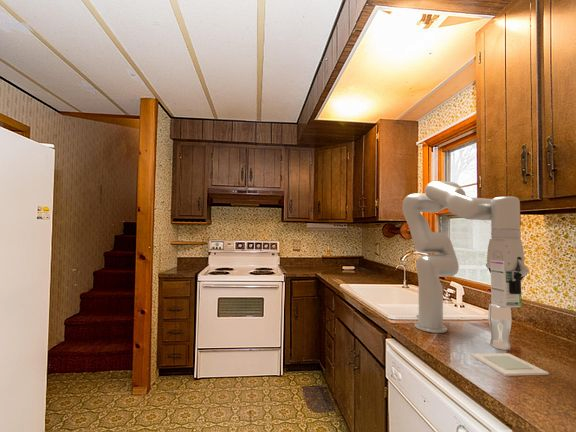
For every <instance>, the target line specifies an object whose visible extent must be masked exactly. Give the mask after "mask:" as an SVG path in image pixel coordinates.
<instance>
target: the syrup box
mask: <svg viewBox="0 0 576 432" xmlns="http://www.w3.org/2000/svg"><path fill="white" fill-rule="evenodd" d="M490 264H491V273H490V291H491V292H490V293H491V295H490V296H491V298H490V299H491V302H490V303H492V304H495V305H498V306H501V307H505V308H507V307H511V308H523V304H522V303H523V301H522V281H520V294H510V293H509V281H512V280H511V278H510V275H509V271H505V270H504V261H497V260H496V261H495V260H490ZM515 270H516V269H515ZM514 275H516V273H514Z"/></svg>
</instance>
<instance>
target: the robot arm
mask: <svg viewBox="0 0 576 432" xmlns="http://www.w3.org/2000/svg"><path fill="white" fill-rule="evenodd" d="M401 208H402V214H403V218H404V219H405V221H406V223H407V225H408V227H409V232H410V235H411V239H412V242H413V246H414V249H415V250H416V251H417V252H418V253H421V254H423V255H421V256H419V257H418V258H417V259H416V262H415V269H416V272H417V273H416V274H417V280H418V313H417V315H416V316H415V317H416V318H417V321H415V323H414V327H415V328H416V329H417V330H420V331H422V332H423V331H424V332H427V333H432V334H443V333H446V332H447V331H448V328H447V326H445V325H444V289H443V284H442V283H441V281H440V279H439V278H440V277H444V278H445V277H447V278H449V277H453V276H456V275H457V274H458V272H459V267H460V266H459V261H458V258H457V256H456V252H455V250H454V245H453V244H452V240H451V239H450V237H449V236H448V235H447V234H445V233H444V232H440V231H438V232H437V231H436V232H435V231H432V230H431V226H430V225H429V222H428V220H427V218H426V217H425V216H424V215H423V214H422V213H439V212H442V211H443V210H445V209H447V210H448V212H450V213H451V214H453V215H455V216H457V217H460V218H463V219H467V220H473V221H474V220H475V221H476V220H477V221H478V220H479V221H490V222H491V225H490V227H491V228H490V229H491V230H490V231H491V232H490V235H491V236H490V237H491V238H490V239H489V241H488V246H487V252H486V253H487V255H486V258H487V259H486V264H485V266H486V268H487V270H488V271H489V273H490V274H491V264H490V260H495V261H496V260H497V261H504V270H505V271H509V275H510V278H511V280H512V281H509V293H510V294H520V281H521V282H522V281H523V279H524V278H525V276H526V275H528V273H529V272H530V269H529V268H528V267H527V266H526V264H525V253H524V251H525V250H524V247H523V241H522V239H521V202H520V199H519V197H516V196H497V197H493V198H484V197H469V196H467V195H466V192H465V190H464V189H463V188H462V187H461V186H460V185H459V184H458V183H456V182H453V181H443V180H442V181H439V180H436V181H435V180H434V181H431V182H429V183H428V184H427V185H426V186H425V188H424V193H411V194H408V195H406V196H405V198H404V199H403V201H402V207H401ZM515 269H516V270H515ZM514 273H516V275H514Z"/></svg>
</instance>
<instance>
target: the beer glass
mask: <svg viewBox="0 0 576 432" xmlns="http://www.w3.org/2000/svg"><path fill="white" fill-rule="evenodd" d="M511 308H512V307H507V308H505V307H501V306H498V305H495V304H492V302H490V303H488V312H487V313H488V315H487V316H488V317H487V318H488V324H489V329H490V336H491V337H490V343H489V346H491V347H492V348H494V349H496V350H497V349H498V350H502V351H510V350H511V344H510V332H511V330H512V329H511V327H512V323H513V322H512V321H513V319H512V310H511Z"/></svg>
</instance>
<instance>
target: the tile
mask: <svg viewBox="0 0 576 432" xmlns="http://www.w3.org/2000/svg"><path fill="white" fill-rule="evenodd" d="M470 357H472V358H474V359H475V360H477V361H479V362H481V363H482V364H484V365H485V366H487V367H489V368H490V369H493V370H495V371H496V372H498V373H499V374H501V375H502V376H504V377H509V376H510V377H511V376H515V377H516V376H517V377H519V376H548V375H549V374H550V373H549V372H548V371H547V370H544V369H542V368H540V367H537V366H536V365H534V364H531V363H529V362H528V361H527V360H523V359H521V358H519V357H517V356H515V355H514V354H511V353H508V352H507V353H505V352H504V353H503V352H502V353H501V352H500V353H498V352H497V353H470Z"/></svg>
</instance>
